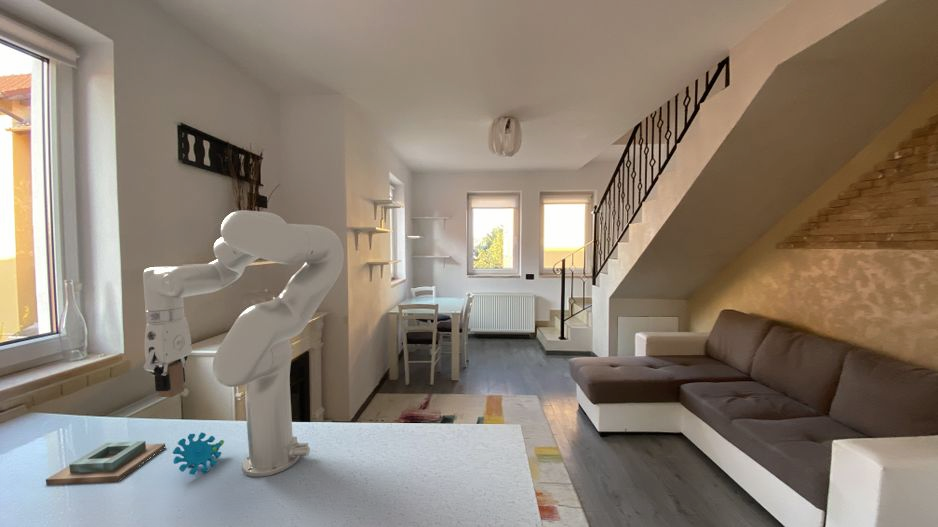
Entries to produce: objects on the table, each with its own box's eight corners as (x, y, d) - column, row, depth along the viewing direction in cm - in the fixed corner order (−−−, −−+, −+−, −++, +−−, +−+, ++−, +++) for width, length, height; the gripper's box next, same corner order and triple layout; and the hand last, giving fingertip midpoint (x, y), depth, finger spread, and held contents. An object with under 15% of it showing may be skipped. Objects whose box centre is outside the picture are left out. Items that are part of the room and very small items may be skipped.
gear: (183, 478, 85) (168, 438, 89) (171, 493, 86) (158, 453, 90) (233, 459, 95) (218, 424, 98) (222, 472, 96) (208, 437, 100)
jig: (165, 447, 101) (164, 436, 101) (118, 481, 87) (117, 467, 87) (103, 450, 101) (102, 438, 101) (46, 484, 87) (44, 470, 87)
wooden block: (185, 391, 100) (183, 361, 99) (171, 397, 96) (169, 366, 95) (171, 391, 100) (169, 361, 100) (157, 397, 96) (154, 366, 96)
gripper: (154, 322, 88) (159, 400, 90) (203, 309, 105) (207, 374, 106) (120, 323, 88) (127, 401, 89) (175, 310, 105) (180, 375, 106)
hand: (170, 386), depth 98 cm, fingers closed on wooden block, 4 cm apart
